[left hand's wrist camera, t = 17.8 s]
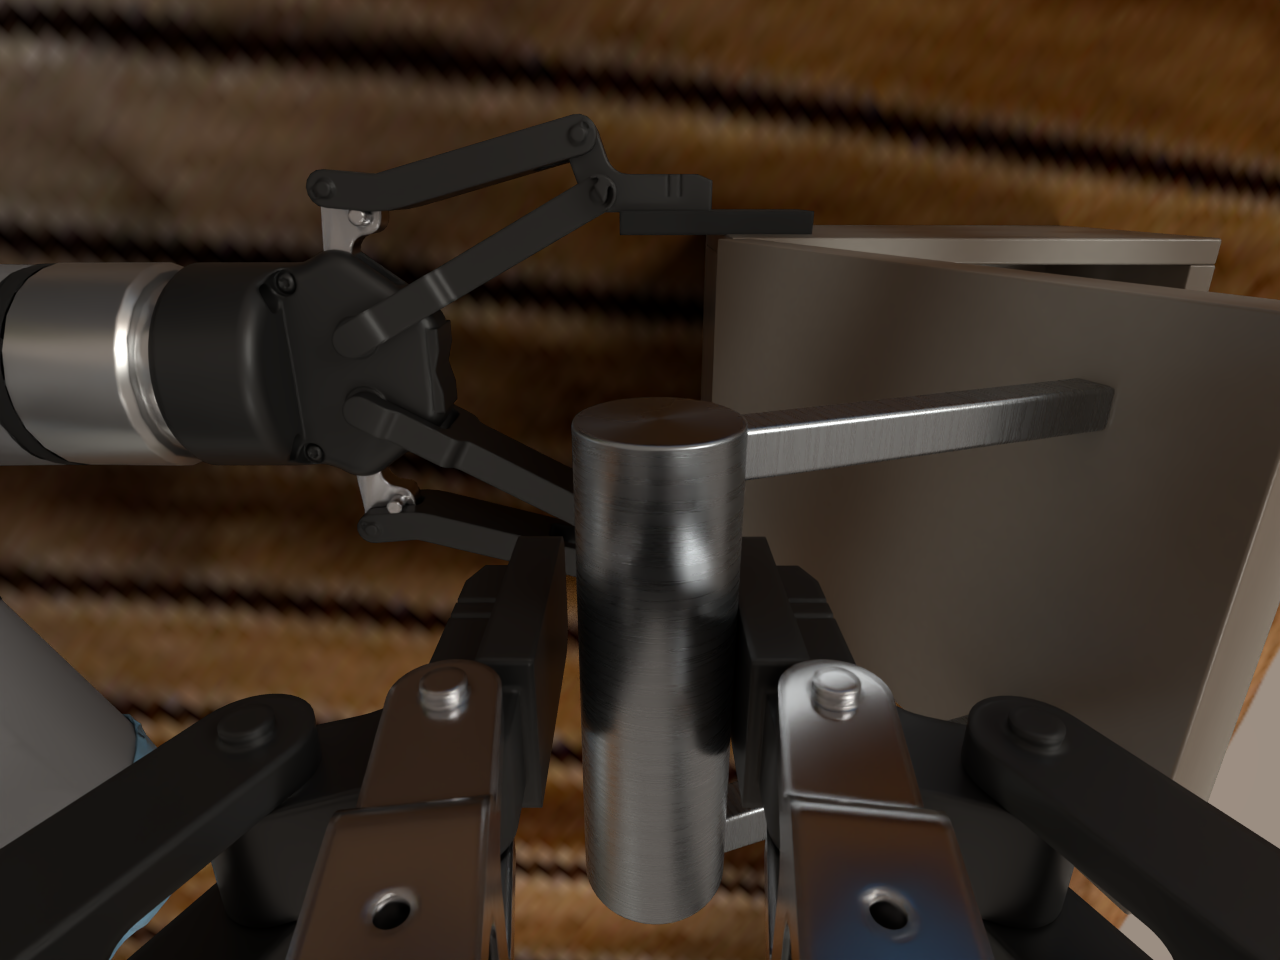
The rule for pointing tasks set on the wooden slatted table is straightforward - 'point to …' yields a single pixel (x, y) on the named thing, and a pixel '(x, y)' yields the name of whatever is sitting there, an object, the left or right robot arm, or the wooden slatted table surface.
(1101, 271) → the chest
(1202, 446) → the grey piece
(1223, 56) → the wooden slatted table surface
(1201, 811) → the left robot arm
